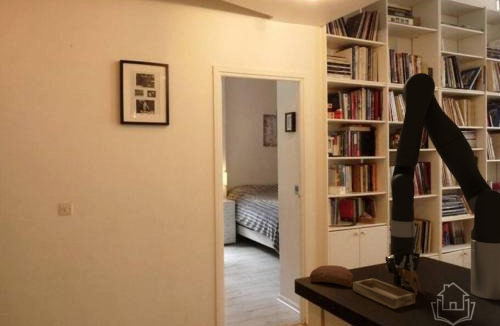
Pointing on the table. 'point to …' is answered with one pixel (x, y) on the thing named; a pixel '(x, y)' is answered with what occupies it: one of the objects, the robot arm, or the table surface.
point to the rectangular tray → (384, 293)
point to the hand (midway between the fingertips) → (403, 284)
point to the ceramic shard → (332, 275)
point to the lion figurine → (409, 279)
